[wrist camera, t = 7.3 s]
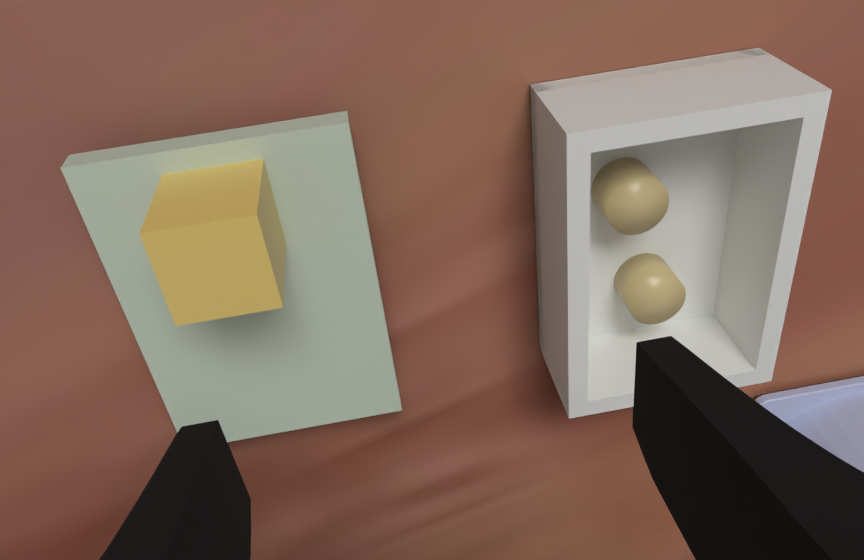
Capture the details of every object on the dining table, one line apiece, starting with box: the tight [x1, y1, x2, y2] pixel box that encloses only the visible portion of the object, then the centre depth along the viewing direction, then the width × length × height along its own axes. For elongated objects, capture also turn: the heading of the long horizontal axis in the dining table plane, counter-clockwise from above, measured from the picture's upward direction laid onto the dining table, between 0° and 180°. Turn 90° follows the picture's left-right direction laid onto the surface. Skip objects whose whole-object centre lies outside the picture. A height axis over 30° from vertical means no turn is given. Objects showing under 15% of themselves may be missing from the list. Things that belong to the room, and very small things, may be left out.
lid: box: [61, 111, 402, 442], centre depth 21 cm, size 10×7×5 cm
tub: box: [530, 48, 832, 419], centre depth 22 cm, size 10×7×4 cm
